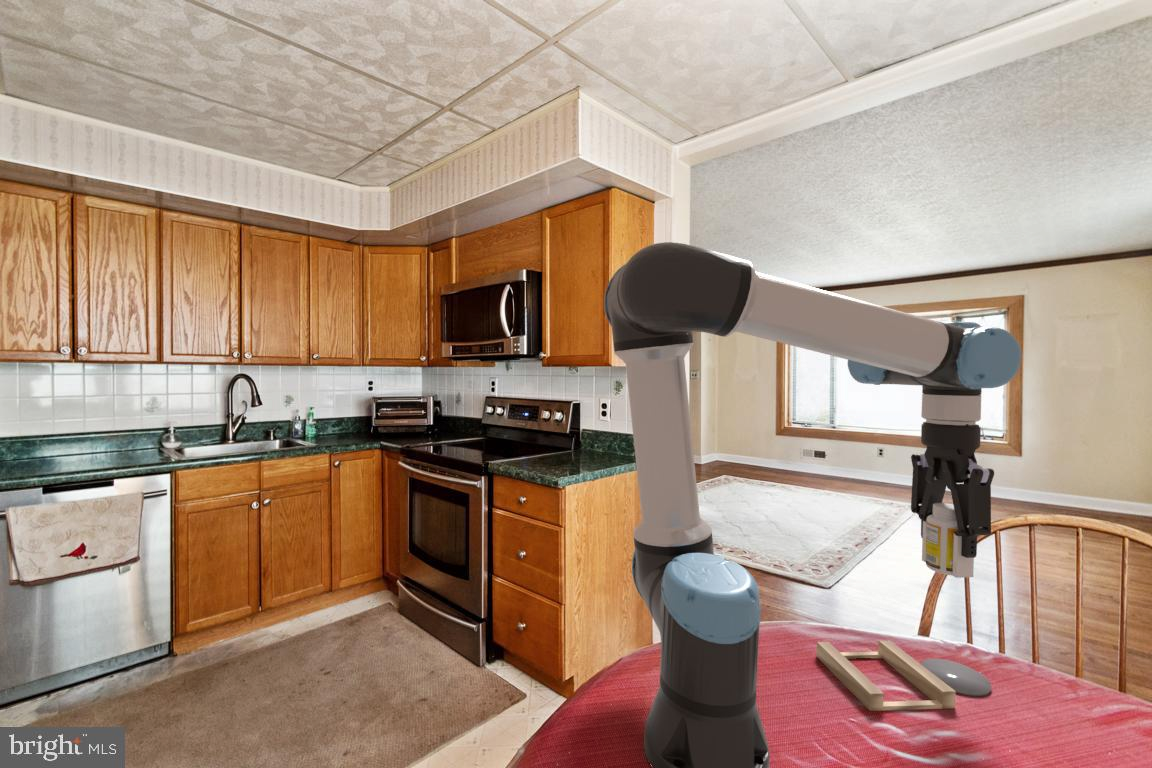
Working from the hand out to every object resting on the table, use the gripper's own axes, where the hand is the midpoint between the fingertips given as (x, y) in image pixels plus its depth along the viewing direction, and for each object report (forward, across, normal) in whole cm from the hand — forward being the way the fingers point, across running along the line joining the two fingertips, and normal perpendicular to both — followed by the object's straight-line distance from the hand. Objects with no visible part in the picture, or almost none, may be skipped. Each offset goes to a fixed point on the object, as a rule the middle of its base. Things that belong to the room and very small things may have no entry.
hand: (946, 568), depth 82 cm
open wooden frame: (+18, 0, +11) cm, 20 cm away
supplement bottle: (+1, 0, 0) cm, 1 cm away
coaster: (+18, 0, -2) cm, 18 cm away
